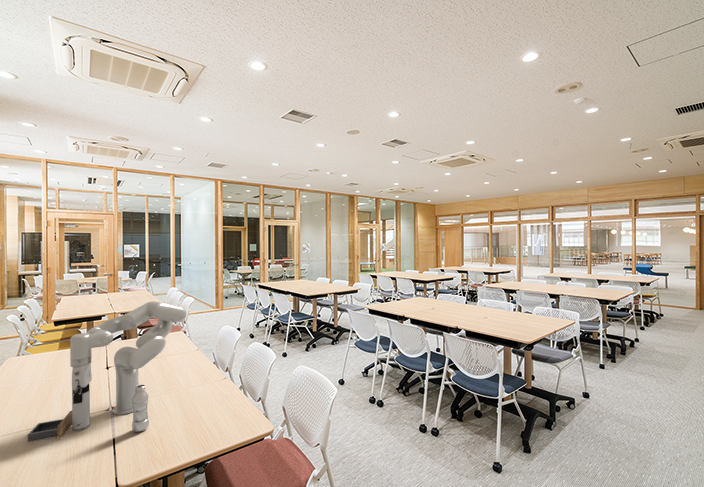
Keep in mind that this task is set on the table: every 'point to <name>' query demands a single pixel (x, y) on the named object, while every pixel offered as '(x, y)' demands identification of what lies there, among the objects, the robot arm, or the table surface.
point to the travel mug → (81, 411)
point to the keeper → (44, 430)
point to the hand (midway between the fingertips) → (81, 398)
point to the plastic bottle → (140, 409)
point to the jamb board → (64, 425)
